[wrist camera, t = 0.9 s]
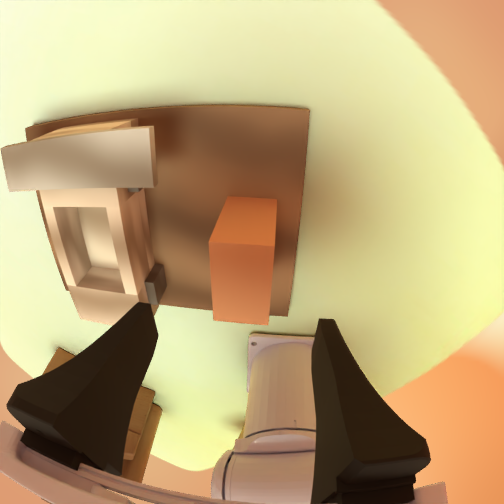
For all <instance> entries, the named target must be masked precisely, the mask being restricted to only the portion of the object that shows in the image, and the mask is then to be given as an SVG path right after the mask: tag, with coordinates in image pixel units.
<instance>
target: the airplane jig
mask: <svg viewBox="0 0 504 504" xmlns="http://www.w3.org/2000/svg"><path fill="white" fill-rule="evenodd" d="M309 115H310V110H309V109H303V108H291V107H276V106H255V105H187V106H167V107H152V108H140V109H130V110H120V111H112V112H104V113H97V114H90V115H84V116H78V117H72V118H66V119H61V120H56V121H51V122H46V123H41V124H37V125H33V126H30V127H27V128H25V131H26V138H27V142H22V143H17V144H12V145H8V146H5V147H3V148H1V154H2V160H3V165H4V170H5V175H6V179H7V184H8V188H9V192H15V191H31V190H36V193H37V197H38V201H39V205H40V209H41V213H42V217H43V221H44V224H45V228H46V232H47V235H48V238H49V242H50V245H51V248H52V251H53V255H54V258H55V261H56V264H57V267H58V269H59V272H60V275H61V278H62V281H63V283H64V286H65V289H66V290H67V291H70V294H71V297H72V299H73V302H74V304H75V307H76V309H77V312H78V314H79V316H80V319H84V320H88V321H93V322H98V323H103V324H109V325H114V324H115V323H116V322H117V321H118V320H119V319H120V318H122V317H123V316H124V315H125V314H126V313H127V312H128V311H129V310H130V309H131V308H132V307H133V306H134V305H135V304H137V303H138V302H143V303H150V304H151V307H152V312H153V316H154V315H155V313H156V311H157V309H158V307H159V304H160V305H169V306H177V307H186V308H195V309H204V310H213V305H212V291H211V275H210V258H209V240H210V237H211V235H212V232H213V230H214V227H215V225H216V223H217V220H218V218H219V216H220V213H221V211H222V208H223V206H224V204H225V201H226V199H227V197H228V196H233V197H251V198H267V199H277V213H276V233H275V250H274V263H273V275H272V287H271V299H270V311H269V315H272V316H287V317H288V311H289V304H290V297H291V289H292V282H293V274H294V266H295V258H296V250H297V241H298V233H299V224H300V215H301V205H302V195H303V185H304V175H305V164H306V153H307V141H308V128H309Z"/></svg>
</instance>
